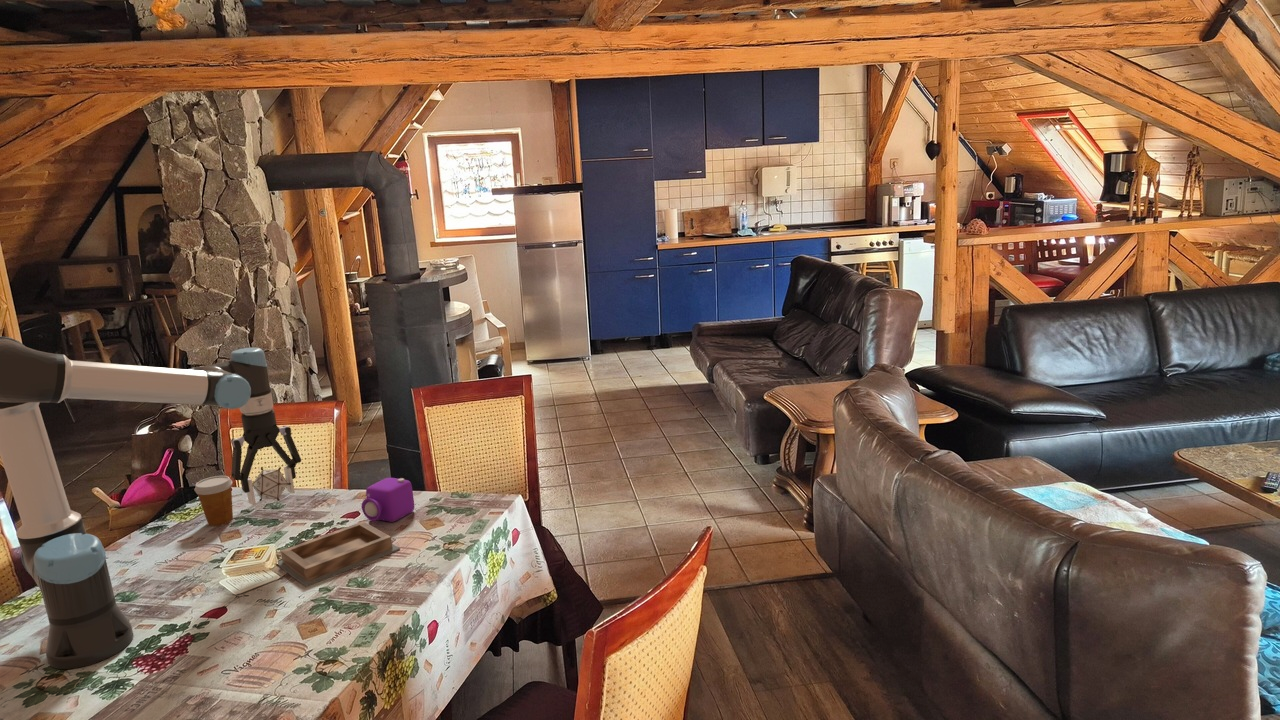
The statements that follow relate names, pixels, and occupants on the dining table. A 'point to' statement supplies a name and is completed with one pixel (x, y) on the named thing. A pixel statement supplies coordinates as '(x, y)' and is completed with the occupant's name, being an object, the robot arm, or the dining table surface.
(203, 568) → the dining table surface
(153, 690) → the dining table surface
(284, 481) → the game die
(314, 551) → the brown wooden tray
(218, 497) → the disposable coffee cup
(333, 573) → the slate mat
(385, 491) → the toy camera
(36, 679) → the dining table surface
